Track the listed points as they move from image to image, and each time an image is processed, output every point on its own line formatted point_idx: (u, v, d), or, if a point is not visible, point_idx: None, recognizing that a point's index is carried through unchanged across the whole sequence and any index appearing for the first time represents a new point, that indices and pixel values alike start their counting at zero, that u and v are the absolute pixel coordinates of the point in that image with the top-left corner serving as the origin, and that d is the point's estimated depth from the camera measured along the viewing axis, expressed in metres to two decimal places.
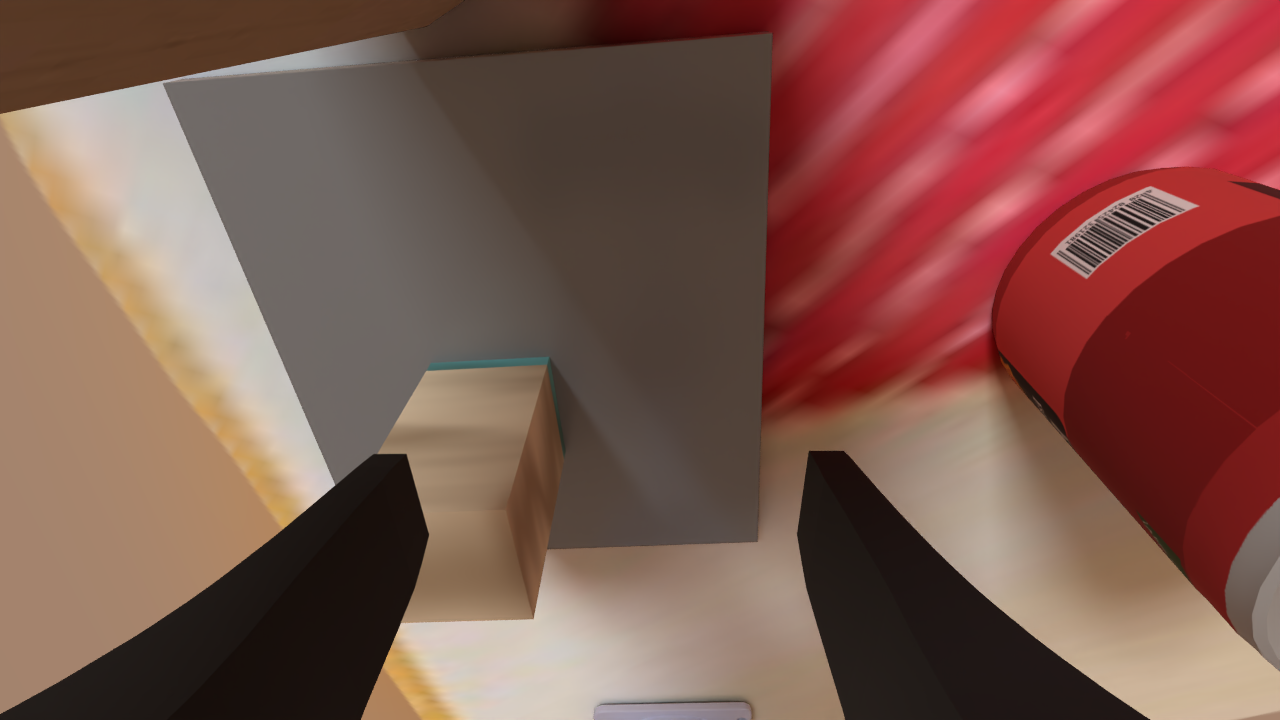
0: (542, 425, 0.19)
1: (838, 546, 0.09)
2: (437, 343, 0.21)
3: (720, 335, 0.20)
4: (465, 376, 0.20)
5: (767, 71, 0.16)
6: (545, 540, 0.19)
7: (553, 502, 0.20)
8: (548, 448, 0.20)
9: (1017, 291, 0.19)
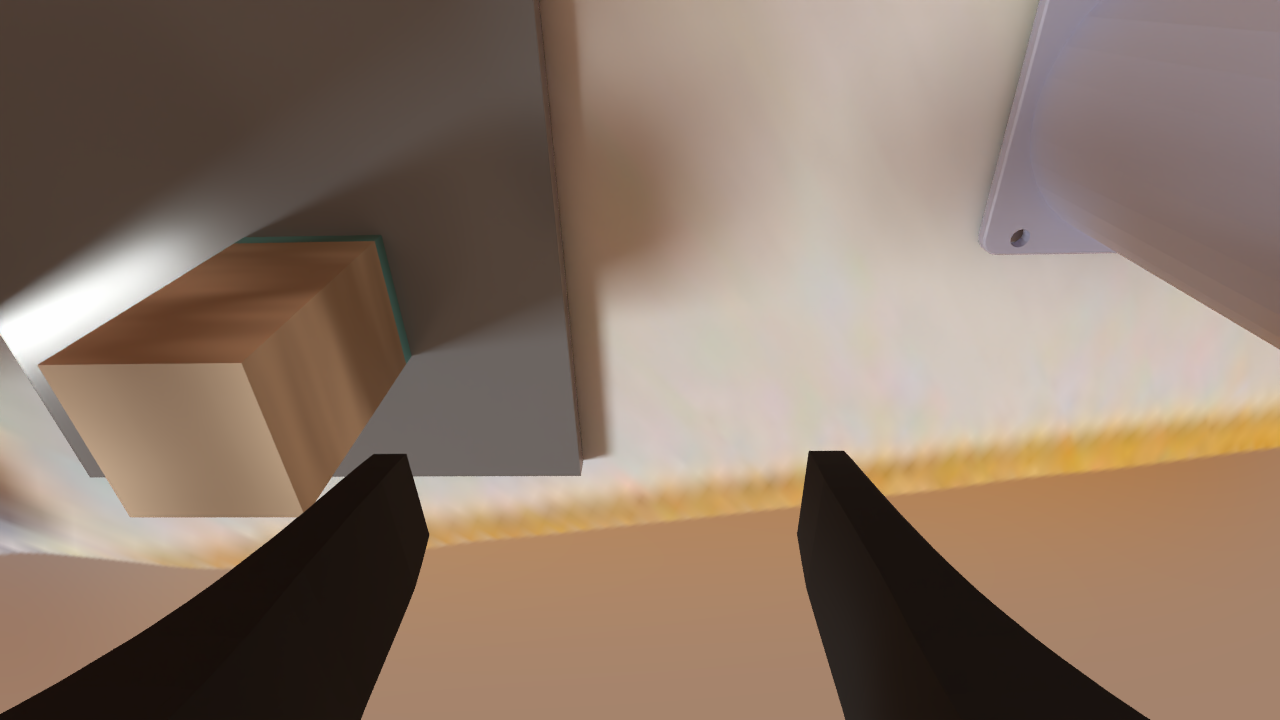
0: (227, 270, 0.16)
1: (838, 546, 0.09)
2: None
3: (142, 14, 0.15)
4: None
5: None
6: (290, 305, 0.14)
7: (324, 275, 0.15)
8: (272, 266, 0.16)
9: None
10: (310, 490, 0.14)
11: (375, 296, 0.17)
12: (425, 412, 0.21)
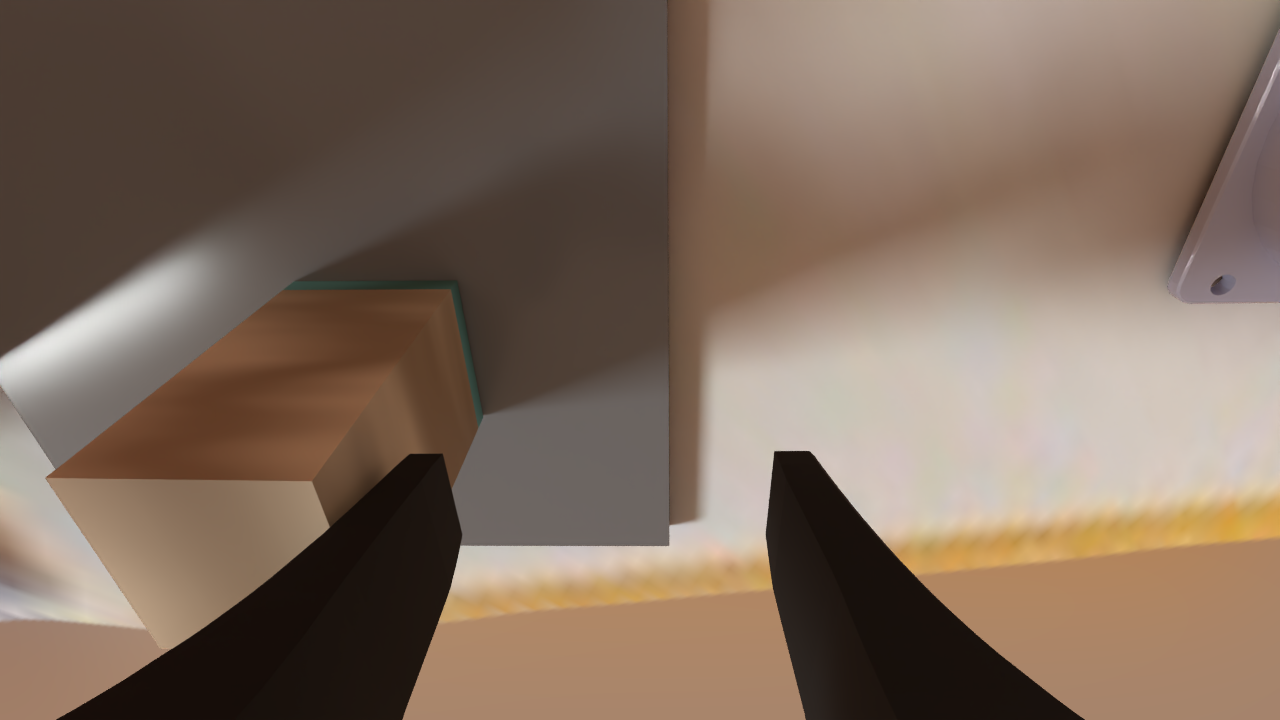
0: (279, 329, 0.13)
1: (798, 547, 0.09)
2: None
3: (180, 16, 0.12)
4: None
5: None
6: (363, 385, 0.11)
7: (399, 340, 0.12)
8: (332, 325, 0.13)
9: None
10: None
11: (451, 355, 0.15)
12: (495, 477, 0.18)
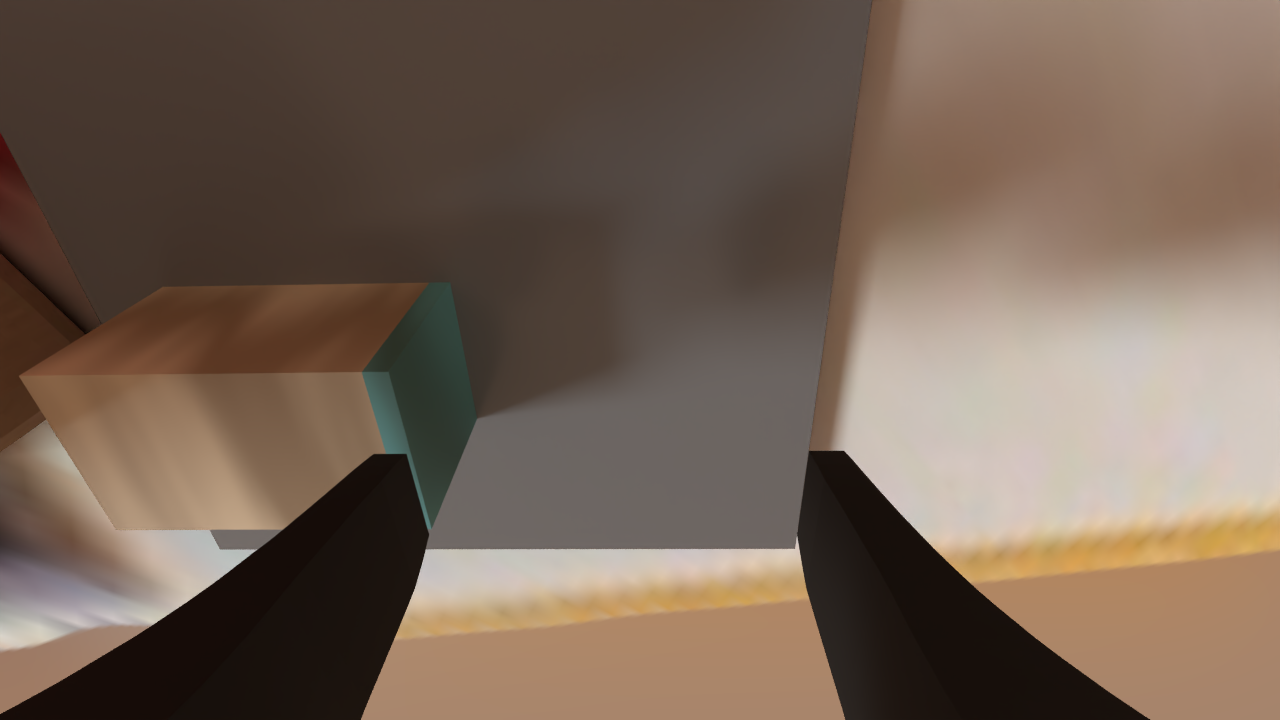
0: (330, 301, 0.14)
1: (838, 546, 0.09)
2: None
3: (372, 12, 0.12)
4: None
5: None
6: (158, 365, 0.12)
7: (241, 365, 0.12)
8: (317, 323, 0.13)
9: None
10: (130, 518, 0.14)
11: (340, 430, 0.12)
12: (628, 479, 0.18)
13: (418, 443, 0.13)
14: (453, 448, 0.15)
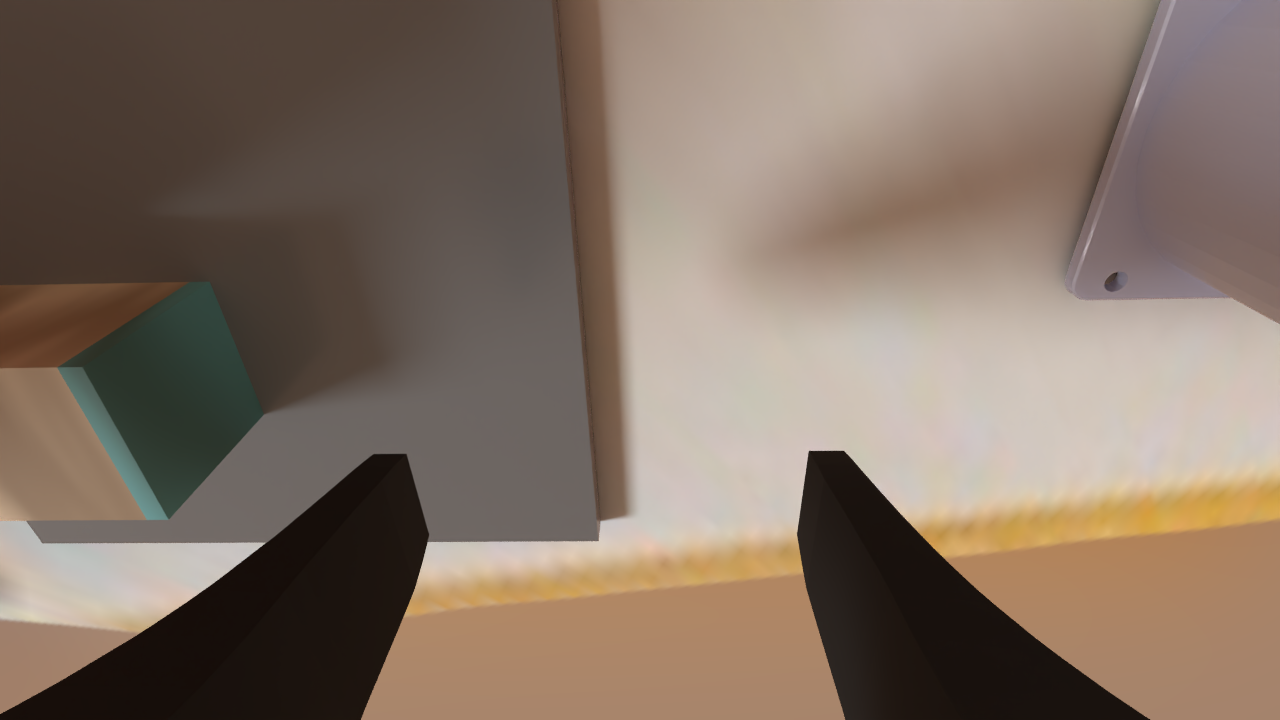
0: (81, 300, 0.15)
1: (838, 546, 0.09)
2: None
3: (79, 22, 0.13)
4: None
5: None
6: None
7: None
8: (52, 321, 0.14)
9: None
10: None
11: (53, 423, 0.13)
12: (422, 473, 0.18)
13: (142, 436, 0.13)
14: (214, 442, 0.16)
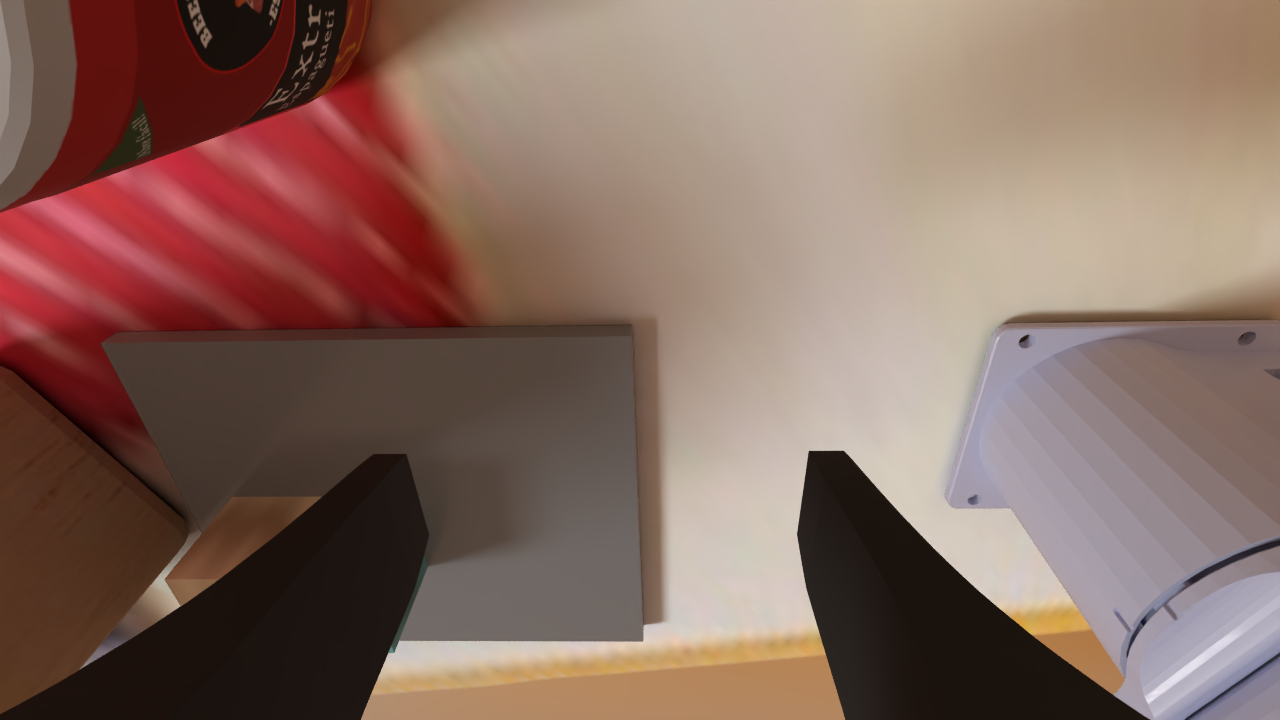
0: None
1: (838, 546, 0.09)
2: None
3: (358, 374, 0.22)
4: None
5: (126, 345, 0.21)
6: None
7: None
8: None
9: None
10: None
11: None
12: (527, 600, 0.28)
13: None
14: None
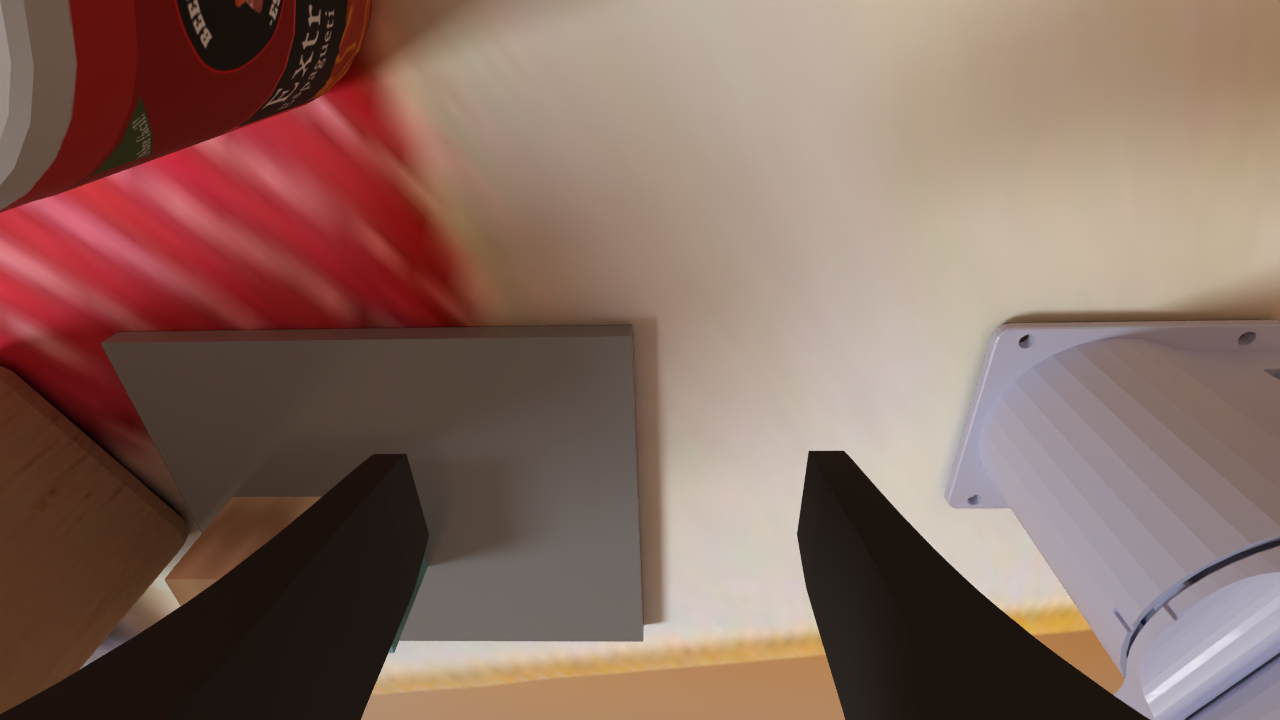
0: None
1: (838, 546, 0.09)
2: None
3: (358, 374, 0.22)
4: None
5: (126, 345, 0.21)
6: None
7: None
8: None
9: None
10: None
11: None
12: (527, 600, 0.28)
13: None
14: None
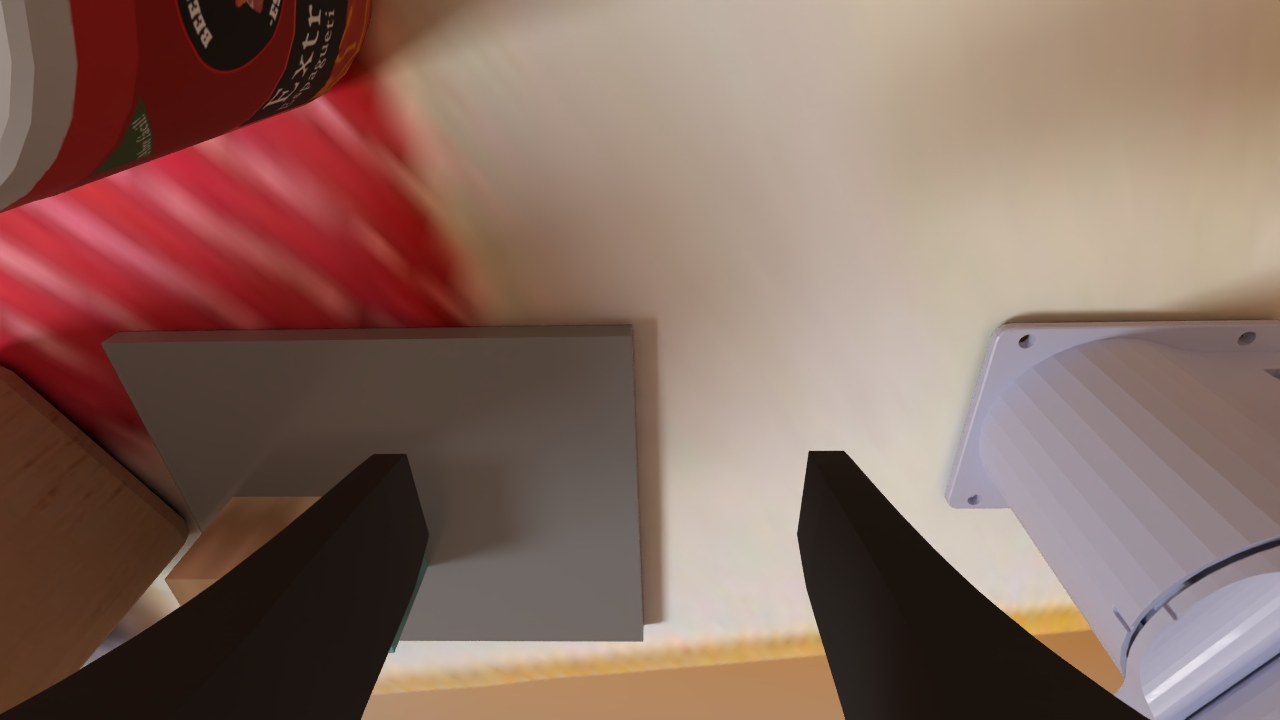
0: None
1: (838, 546, 0.09)
2: None
3: (358, 374, 0.22)
4: None
5: (126, 345, 0.21)
6: None
7: None
8: None
9: None
10: None
11: None
12: (527, 600, 0.28)
13: None
14: None
